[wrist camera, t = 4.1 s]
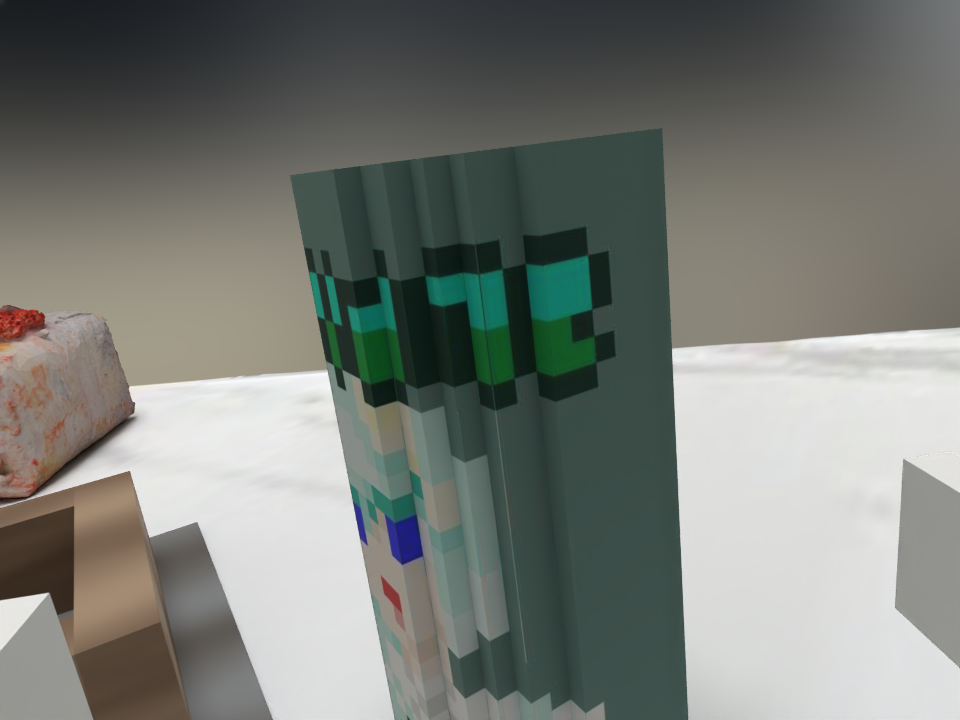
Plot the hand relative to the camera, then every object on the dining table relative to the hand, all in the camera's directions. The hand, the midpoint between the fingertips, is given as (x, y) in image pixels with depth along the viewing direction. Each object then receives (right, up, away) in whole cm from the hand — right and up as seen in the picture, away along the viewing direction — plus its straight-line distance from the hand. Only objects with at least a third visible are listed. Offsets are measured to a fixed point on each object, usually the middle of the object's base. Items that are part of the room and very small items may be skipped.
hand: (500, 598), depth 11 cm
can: (+1, -7, +6) cm, 9 cm away
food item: (-28, -3, +33) cm, 43 cm away
